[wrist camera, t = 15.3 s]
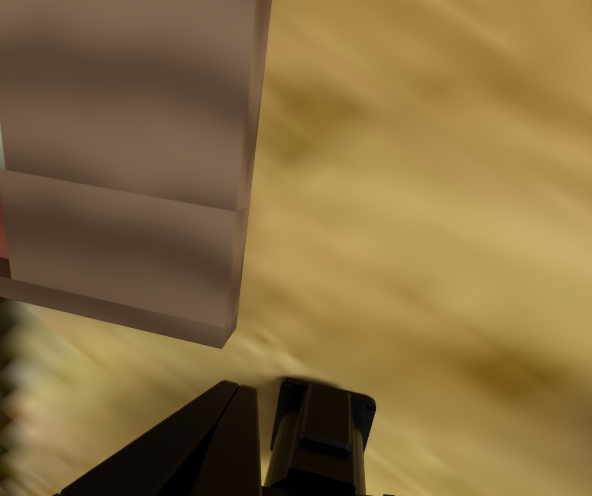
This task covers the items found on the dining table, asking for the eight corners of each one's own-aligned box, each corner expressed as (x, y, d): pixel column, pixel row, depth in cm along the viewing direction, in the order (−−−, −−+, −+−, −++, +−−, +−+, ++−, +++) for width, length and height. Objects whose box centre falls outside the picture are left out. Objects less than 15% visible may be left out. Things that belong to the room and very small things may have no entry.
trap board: (235, 328, 21) (221, 349, 18) (-59, 261, 23) (-105, 271, 21) (294, -211, 13) (283, -295, 11) (-148, -218, 16) (-236, -287, 13)
